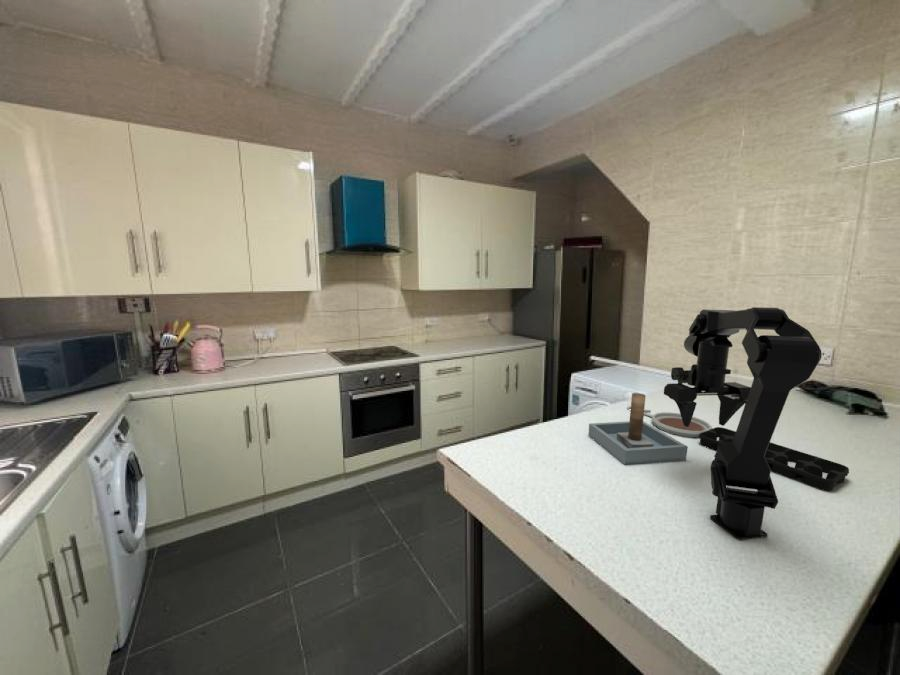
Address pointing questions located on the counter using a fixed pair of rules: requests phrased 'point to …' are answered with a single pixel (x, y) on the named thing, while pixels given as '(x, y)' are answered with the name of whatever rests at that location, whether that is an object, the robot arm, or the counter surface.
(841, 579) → the counter surface
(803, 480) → the egg carton
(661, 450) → the tray
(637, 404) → the brown post on plinth
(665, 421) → the frying pan
